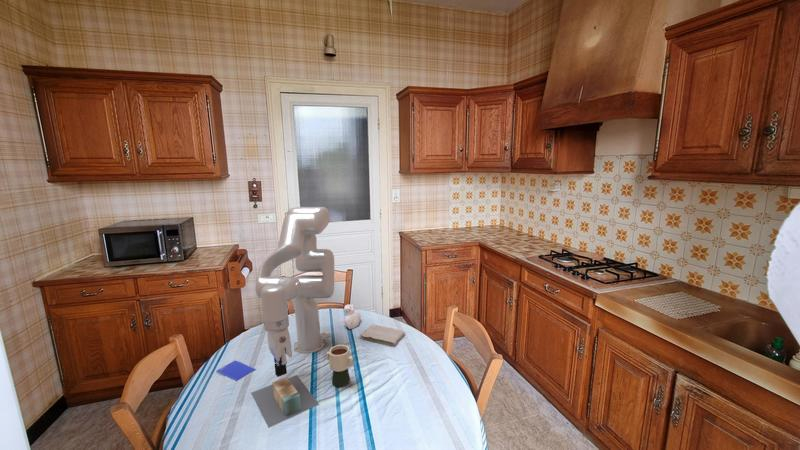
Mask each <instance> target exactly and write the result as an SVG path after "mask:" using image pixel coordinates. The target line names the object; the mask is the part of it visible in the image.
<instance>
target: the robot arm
mask: <svg viewBox="0 0 800 450" xmlns="http://www.w3.org/2000/svg"><path fill="white" fill-rule="evenodd" d="M330 217H331V216H330V211H329V210H328V208H327V207H325V206H298V207H297V206H295V207H291V208H289V209H288V210H287V212H286V215H285V216H284V218H283V221H282V226H281V231H280V236H279V238H278V239H279V241H278V246H277V248H276V249H275V250H274V251H272V252H271V253H270V254H269V255H268V256H267V257H266V258H265V260H264V261H263V262H262V263H261V265H260V267H259V270H258V273H257V278H256V282H255V294H256V296H257V297H258V298H259V299H261V306H262V307H261V309H262V317H263V318H262V319H263V327H264V330H265V332H267V334H266V336H267V344H268V350H269V352H270V353H271V355H272V356H273V361H274V373H275V376H276V377H278V378H279V377H281V376H284V375H287V373H288V372H287V364H288V362H287V361H288V359H287V357H288V358H292V357H293V350H292V343H291V337H290V332H289V326H290V319H289V309H288V307H289V306H288V302H290V301H293V304H294V314H295V326H296V338H297V341H296V343H294V345H293V349H294V351H295V352H296V353H299V354H312V353H317V352H319V351H321V350H322V349H323V348H324V347H325V339H329V338H331V337H332V334H331V332H327V333H326V331H324V332H321V327H320V325H321V324H320V315H319V313H320V312H319V305H318V302H317V301H316V300H315V299H330V298H332V297H333V296H334V292H335V255H334V253H333V251H332V250H330V249H328V248H317V244H318V243H317V236H316V235H320V234H321V233H323V231H324V230H325V229H326V228H327V226H328V225H329V223H330ZM291 260H295V268H296V270H297V271H298V272H301V273H310V272H311V273H317V272H318V273H322V274H316V275H315V274H309V275H303V274H302V275H298V276H272V275H271V274H272V273H273V272H274V270H276V269H277V267H280V265H282V264H284V263H287V262H289V261H291Z"/></svg>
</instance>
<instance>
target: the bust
mask: <svg viewBox="0 0 800 450" xmlns="http://www.w3.org/2000/svg"><path fill="white" fill-rule="evenodd" d="M355 309H356V308H355V306H354V304H353V303H352V304H345V306H344V307H343V310H344V312H345V313H346V314H345V316H344V318H343V319H344V320H343V323H344V325H345V327H347V328H348V329H349V330H351V329H355V328H356V327H357V326H359V325H360V322H361V318H362V316H361V313H360V311H359V310H355Z"/></svg>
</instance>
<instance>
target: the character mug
mask: <svg viewBox="0 0 800 450" xmlns="http://www.w3.org/2000/svg"><path fill="white" fill-rule="evenodd" d="M350 353H351V352H350V347H349V346H348V345H346V344H337V345H334V346H332V347H330V349H329V350H328V351H326V360H327V361H328V362H329V367H330V370H331V371H332V377H331V378H332V379H331V380H332V382H331V384H332V385H333V387H334V388H343V387H346V386H347V385H348V384H350V382H351V377H350V372H349V368H350V367H353V366H354V357H352V356H351V354H350Z"/></svg>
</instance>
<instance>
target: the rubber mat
mask: <svg viewBox="0 0 800 450" xmlns="http://www.w3.org/2000/svg"><path fill="white" fill-rule="evenodd" d="M287 378H288V379H289V381H290V382H291V383H292V385H293V386H294V388H295V389H296V390H297V392H298V393H299V395H300V401H301V410H299V411H297V412H294V413H292V414H290V415H288V416H286V417H285V415H284V413H283V411H282V410H281V408H280V406H279V405H278V403H277V401H276V400H275V398H274V396H273V387H272V384H270V385H267V386H265V387H263V388H260V389H257V390H255V391H252V392H250V393H251V396H252V398H253V400H254V402H255V403H256V406H257V408H258V409H259V411H260V414H261V415H262V417H263V419H264V420H263V421H264V422H265V423H266V425H267V427H268V429H269V428H271V427H274V426H276V425H279V424H281V423H283V422H284V421H287V420H289V419H292V418H293V417H295V416H297V415H299V414H301V413H304V412H306V411H308V410H311V409H313V408H315V407H317V406H320V403H319V402H318V401H317V399H316V398H315V397H314V395H313V394H312V393H311V391H309V389H308V388H307V386H306V385H305V384H304V383H303V381H302V380H301V378H300V377H299V376H298V375H297V374H295V375H293V376H290V377H287Z"/></svg>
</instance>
